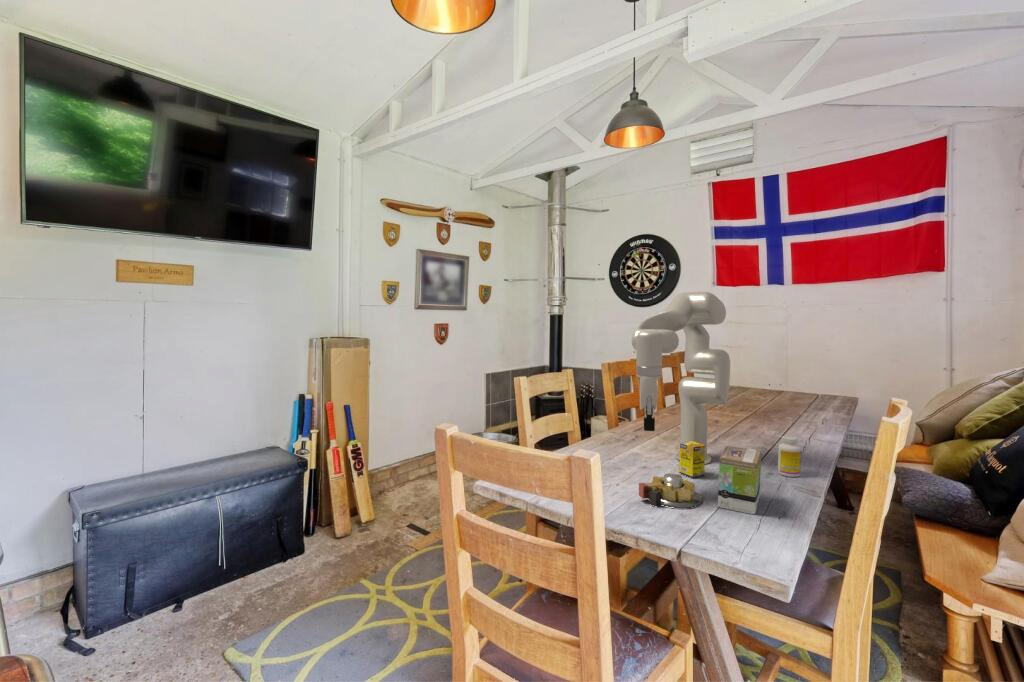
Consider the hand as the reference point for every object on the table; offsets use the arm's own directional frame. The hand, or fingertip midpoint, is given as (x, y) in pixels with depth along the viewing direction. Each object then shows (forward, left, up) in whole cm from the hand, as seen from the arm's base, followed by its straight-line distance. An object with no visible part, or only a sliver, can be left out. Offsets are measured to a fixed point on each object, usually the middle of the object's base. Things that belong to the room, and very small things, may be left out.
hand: (649, 430), depth 142 cm
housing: (+6, +4, -20) cm, 21 cm away
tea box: (+15, +21, -20) cm, 32 cm away
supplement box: (-9, +23, -20) cm, 32 cm away
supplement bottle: (+1, +55, -20) cm, 59 cm away
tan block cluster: (+6, +2, -18) cm, 19 cm away
